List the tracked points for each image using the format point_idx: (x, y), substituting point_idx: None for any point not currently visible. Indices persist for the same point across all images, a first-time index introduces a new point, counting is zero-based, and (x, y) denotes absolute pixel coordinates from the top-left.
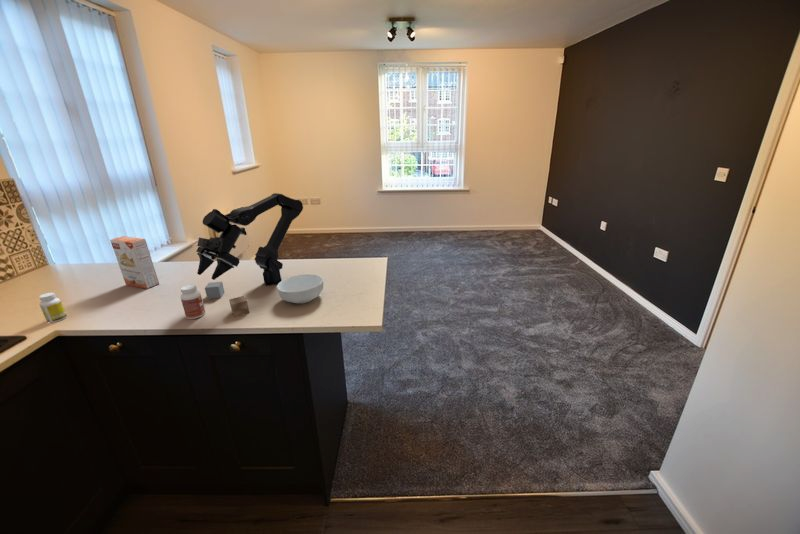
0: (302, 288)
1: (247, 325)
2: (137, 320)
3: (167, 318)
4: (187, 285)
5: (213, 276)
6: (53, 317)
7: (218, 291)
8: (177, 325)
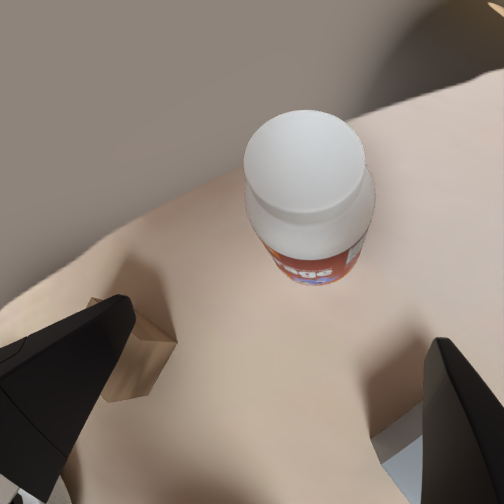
0: None
1: (63, 276)
2: (482, 124)
3: (410, 171)
4: (350, 172)
5: (95, 306)
6: None
7: (381, 448)
8: None
